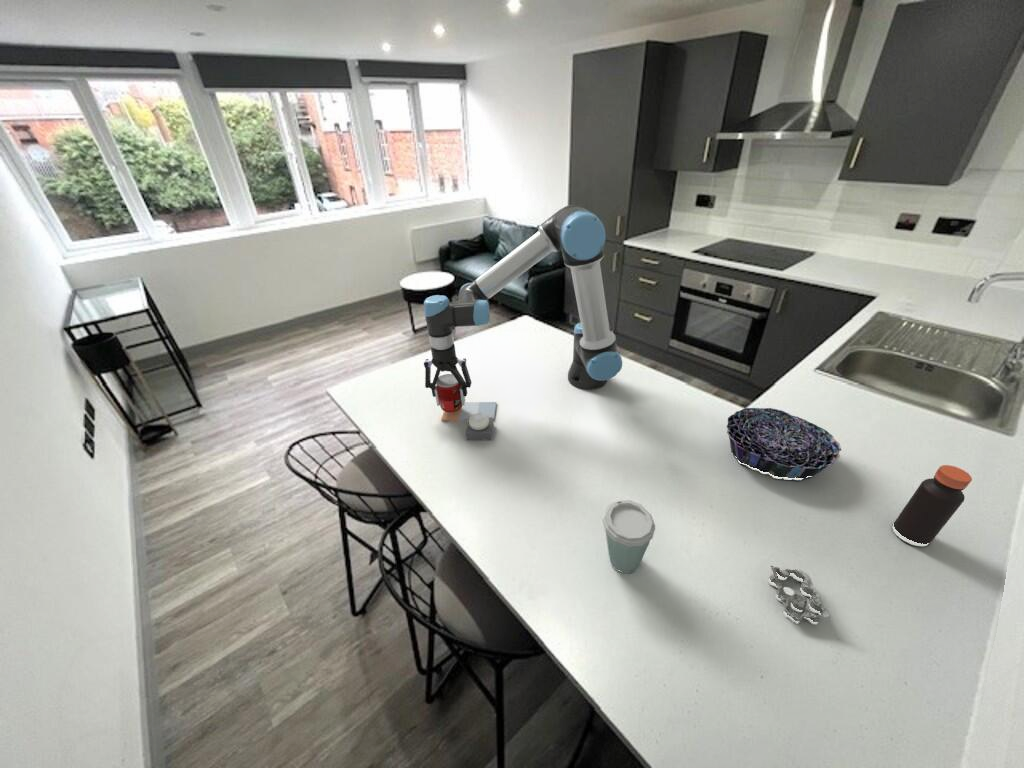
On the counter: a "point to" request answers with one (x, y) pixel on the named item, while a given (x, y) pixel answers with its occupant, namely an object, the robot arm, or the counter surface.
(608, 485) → the counter surface
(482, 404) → the flat rectangular panel
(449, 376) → the canned food
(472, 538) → the counter surface
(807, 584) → the grey lumpy piece
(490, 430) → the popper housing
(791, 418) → the decorative bowl
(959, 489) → the bottle
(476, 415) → the dome button
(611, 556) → the disposable coffee cup
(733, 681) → the counter surface
